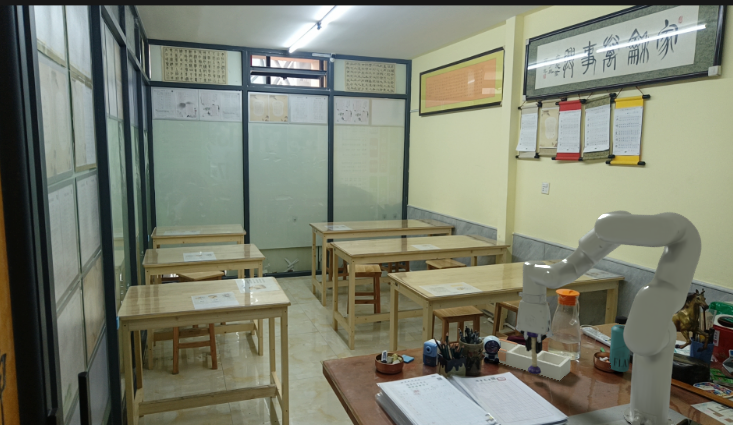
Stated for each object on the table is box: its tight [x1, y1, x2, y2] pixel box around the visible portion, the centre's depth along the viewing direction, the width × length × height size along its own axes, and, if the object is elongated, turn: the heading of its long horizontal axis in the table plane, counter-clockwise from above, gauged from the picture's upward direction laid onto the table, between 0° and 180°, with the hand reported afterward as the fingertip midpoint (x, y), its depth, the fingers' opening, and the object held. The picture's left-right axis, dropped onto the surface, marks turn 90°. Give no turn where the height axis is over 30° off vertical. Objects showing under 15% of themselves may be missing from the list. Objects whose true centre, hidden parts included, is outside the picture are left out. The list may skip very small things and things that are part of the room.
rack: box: [498, 338, 572, 382], centre depth 173 cm, size 11×28×5 cm, turn 48°
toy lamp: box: [527, 332, 541, 375], centre depth 161 cm, size 5×5×17 cm
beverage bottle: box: [608, 315, 631, 373], centre depth 167 cm, size 6×7×20 cm
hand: (533, 350), depth 161 cm, fingers closed on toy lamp, 2 cm apart
